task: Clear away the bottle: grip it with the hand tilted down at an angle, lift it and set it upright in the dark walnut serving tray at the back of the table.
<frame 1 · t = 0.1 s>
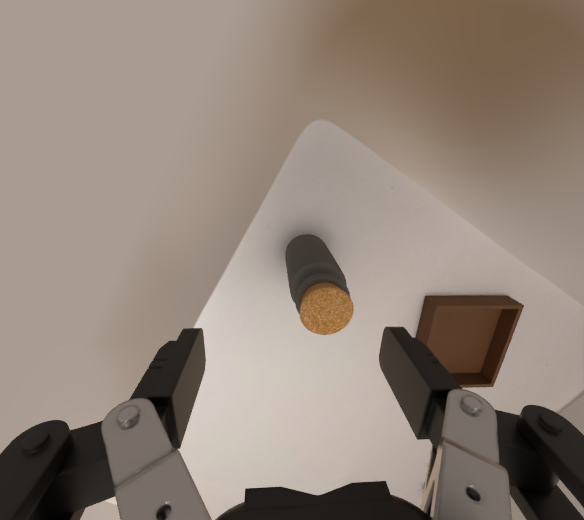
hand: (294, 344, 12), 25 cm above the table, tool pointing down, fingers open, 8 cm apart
bottle: (306, 253, 38), on the table
tray: (454, 337, 44), on the table
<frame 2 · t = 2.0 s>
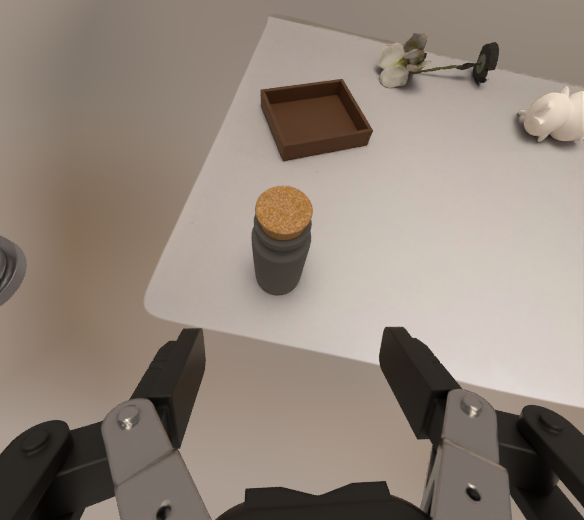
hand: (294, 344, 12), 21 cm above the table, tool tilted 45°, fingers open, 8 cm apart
bottle: (277, 274, 36), on the table
artificial flower: (428, 81, 56), on the table
tray: (312, 125, 48), on the table
cat figurine: (540, 131, 52), on the table
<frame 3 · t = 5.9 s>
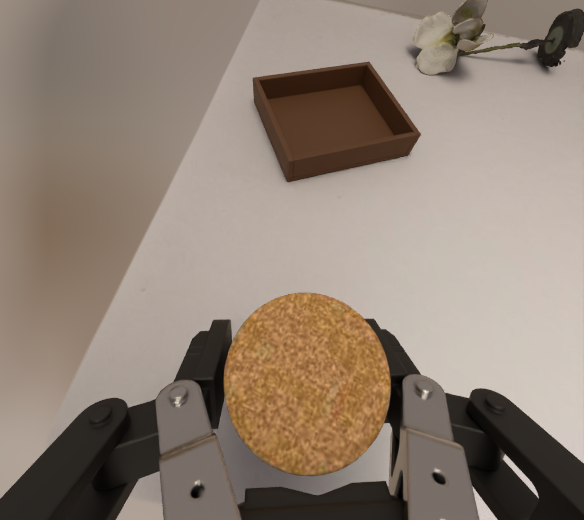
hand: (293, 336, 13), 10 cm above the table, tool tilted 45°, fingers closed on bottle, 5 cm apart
bottle: (283, 380, 21), on the table, touching gripper
artificial flower: (479, 66, 41), on the table
tray: (329, 127, 33), on the table
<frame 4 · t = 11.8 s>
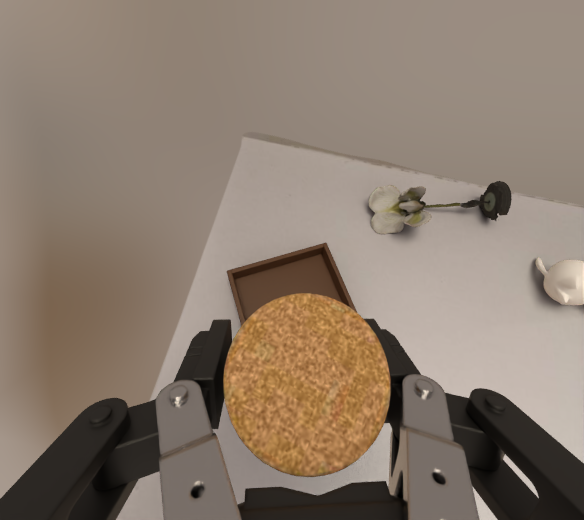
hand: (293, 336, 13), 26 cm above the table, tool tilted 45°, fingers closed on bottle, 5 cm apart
bottle: (283, 380, 21), point 16 cm above the table, touching gripper
artificial flower: (427, 218, 48), on the table
tray: (291, 303, 40), on the table
cat figurine: (562, 286, 44), on the table
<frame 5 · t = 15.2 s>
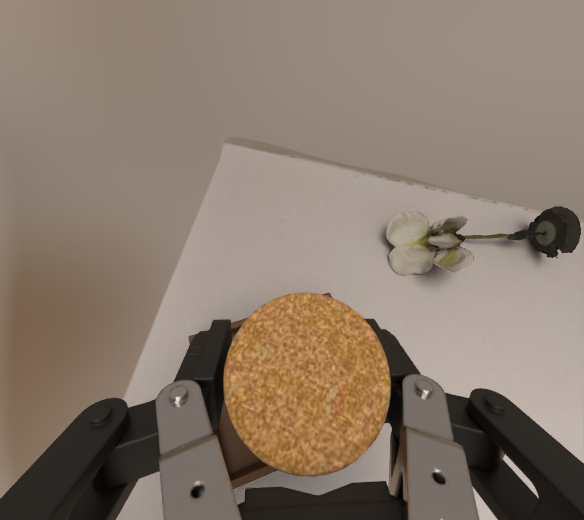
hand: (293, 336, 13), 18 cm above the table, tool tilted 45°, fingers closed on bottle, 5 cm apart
bottle: (283, 380, 21), point 8 cm above the table, touching gripper
artificial flower: (462, 252, 37), on the table
tray: (281, 379, 29), on the table
when the fingers open (11 cm above the table, at t = 17.8 s): bottle stays where it is, resting on tray.
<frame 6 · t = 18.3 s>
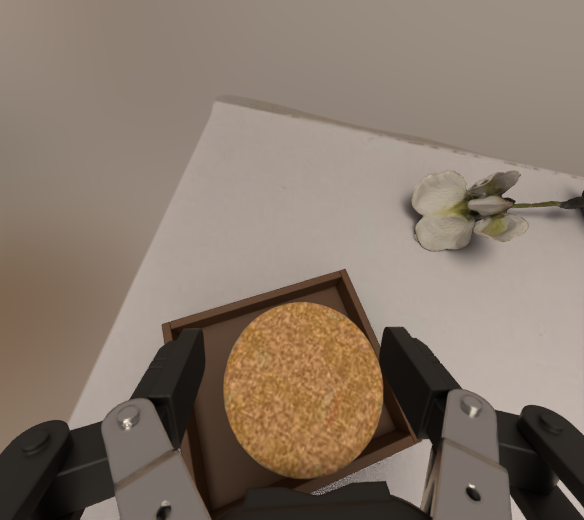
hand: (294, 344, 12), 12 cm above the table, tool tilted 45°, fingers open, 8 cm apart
bottle: (283, 382, 22), resting on tray
artificial flower: (502, 225, 30), on the table
tray: (283, 380, 22), on the table
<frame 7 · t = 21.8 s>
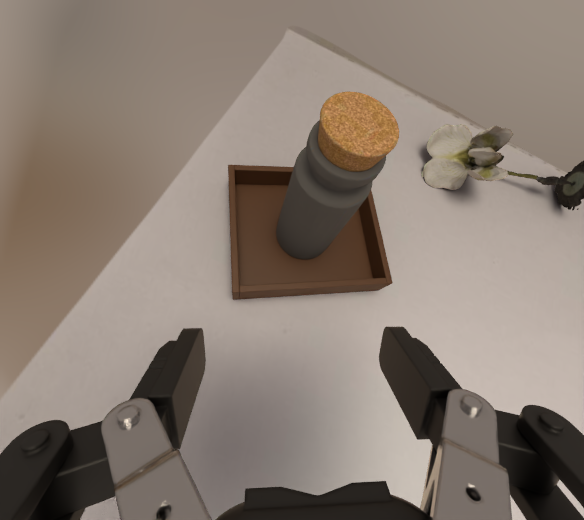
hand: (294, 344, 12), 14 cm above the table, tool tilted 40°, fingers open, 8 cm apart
bottle: (302, 235, 29), resting on tray
artificial flower: (490, 186, 38), on the table
tray: (302, 235, 30), on the table
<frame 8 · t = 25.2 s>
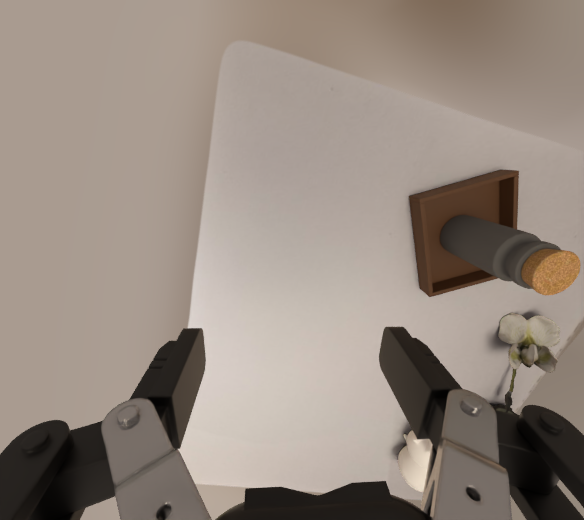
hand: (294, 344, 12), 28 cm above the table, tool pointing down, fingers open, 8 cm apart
bottle: (457, 233, 41), resting on tray
artificial flower: (501, 361, 51), on the table
tray: (457, 233, 41), on the table
cat figurine: (415, 438, 57), on the table
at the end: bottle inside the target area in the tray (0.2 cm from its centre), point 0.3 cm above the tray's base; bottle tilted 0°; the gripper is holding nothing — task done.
